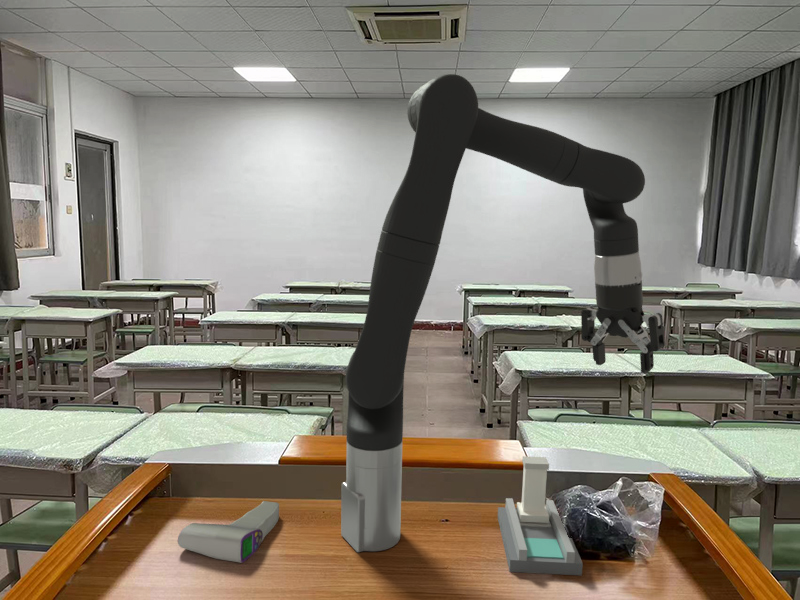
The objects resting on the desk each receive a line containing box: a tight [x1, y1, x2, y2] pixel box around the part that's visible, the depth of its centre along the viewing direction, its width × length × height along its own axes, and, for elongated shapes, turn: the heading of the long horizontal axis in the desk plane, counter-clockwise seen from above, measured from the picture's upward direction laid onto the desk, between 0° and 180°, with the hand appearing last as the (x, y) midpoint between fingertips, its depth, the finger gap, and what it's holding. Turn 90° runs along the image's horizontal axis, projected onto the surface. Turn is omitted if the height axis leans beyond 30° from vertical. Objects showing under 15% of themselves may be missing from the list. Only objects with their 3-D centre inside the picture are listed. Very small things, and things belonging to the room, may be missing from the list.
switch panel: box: [497, 497, 584, 576], centre depth 96 cm, size 16×11×4 cm
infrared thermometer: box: [177, 500, 280, 564], centre depth 97 cm, size 5×12×15 cm
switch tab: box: [516, 455, 550, 523], centre depth 100 cm, size 4×5×10 cm
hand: (622, 367), depth 102 cm, fingers open, 8 cm apart
